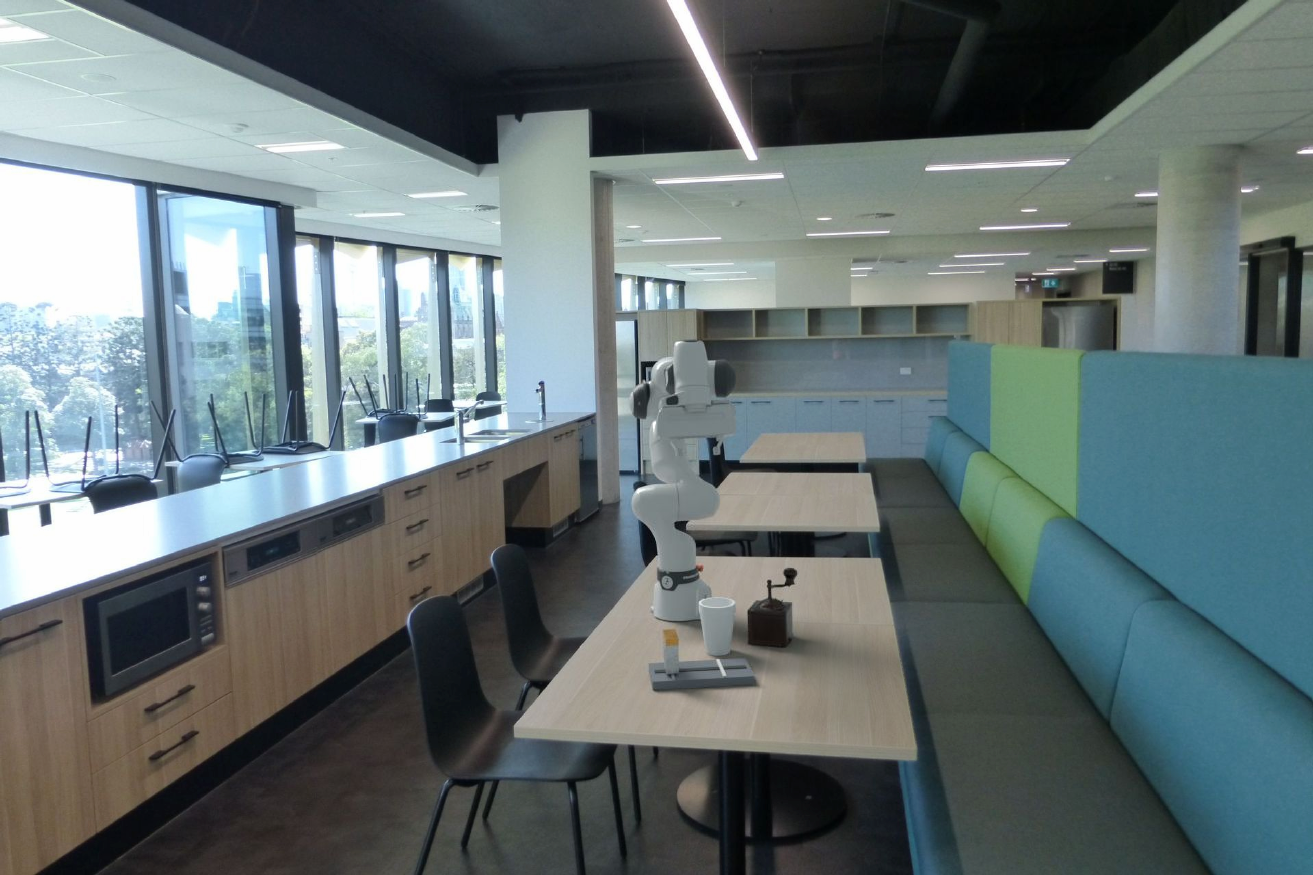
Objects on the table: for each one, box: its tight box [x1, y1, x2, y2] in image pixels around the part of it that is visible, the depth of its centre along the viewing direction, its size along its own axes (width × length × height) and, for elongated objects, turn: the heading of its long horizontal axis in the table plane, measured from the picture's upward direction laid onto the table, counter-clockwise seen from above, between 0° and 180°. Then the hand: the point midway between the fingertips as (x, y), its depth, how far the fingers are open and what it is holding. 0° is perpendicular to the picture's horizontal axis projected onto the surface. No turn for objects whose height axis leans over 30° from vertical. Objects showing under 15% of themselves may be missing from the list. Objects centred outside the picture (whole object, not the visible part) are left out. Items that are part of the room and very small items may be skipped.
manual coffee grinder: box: [746, 567, 798, 648], centre depth 243 cm, size 16×11×18 cm
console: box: [648, 657, 756, 691], centre depth 216 cm, size 24×12×2 cm, turn 95°
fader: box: [662, 628, 680, 674], centre depth 215 cm, size 3×7×9 cm, turn 5°
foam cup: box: [699, 596, 737, 657], centre depth 233 cm, size 10×9×13 cm
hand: (698, 455), depth 223 cm, fingers open, 8 cm apart
